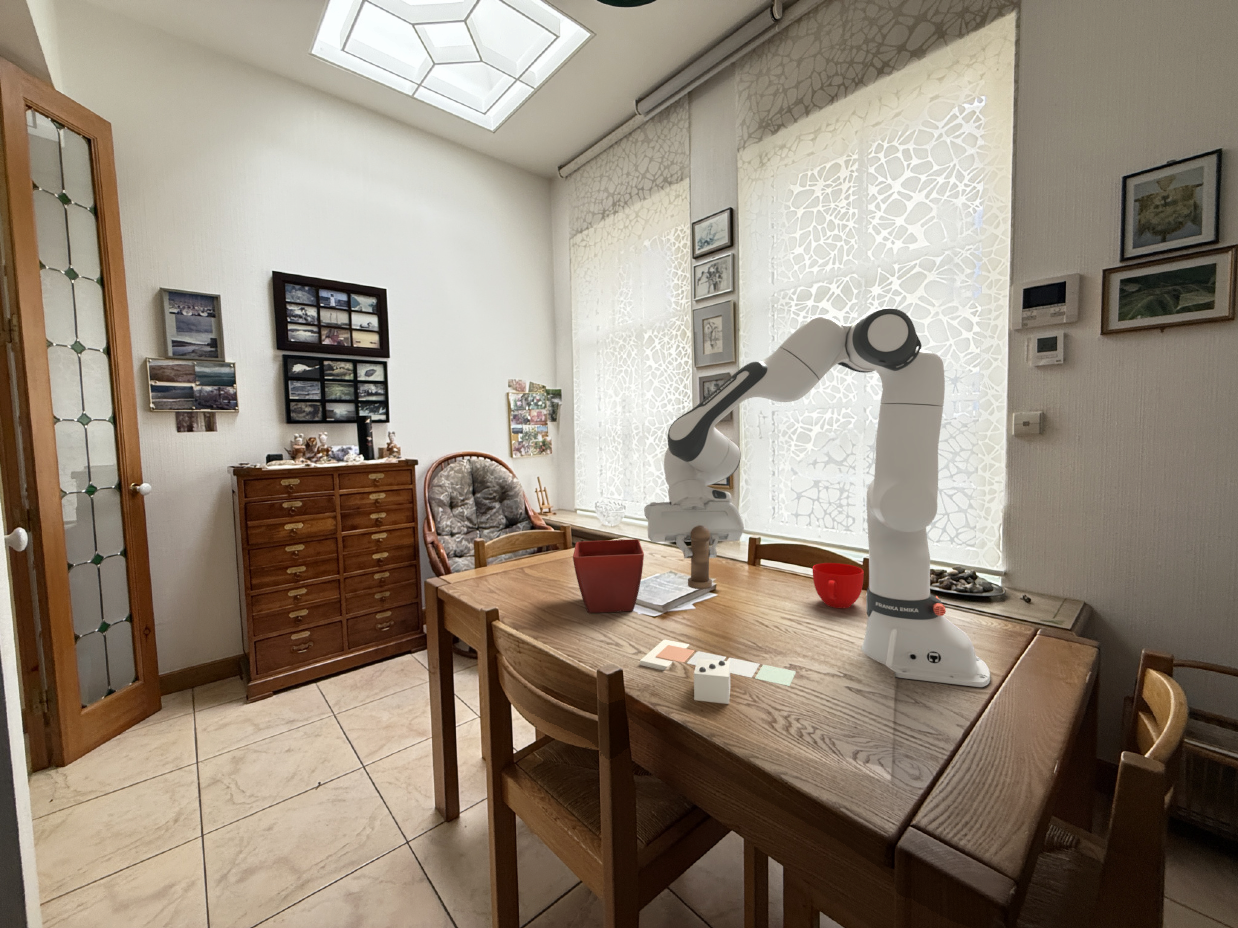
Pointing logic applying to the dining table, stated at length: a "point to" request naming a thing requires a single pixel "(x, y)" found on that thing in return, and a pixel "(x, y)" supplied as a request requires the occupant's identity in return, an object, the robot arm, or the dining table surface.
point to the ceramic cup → (838, 583)
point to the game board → (678, 652)
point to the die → (712, 681)
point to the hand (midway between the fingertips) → (700, 556)
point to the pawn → (700, 558)
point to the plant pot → (609, 574)
